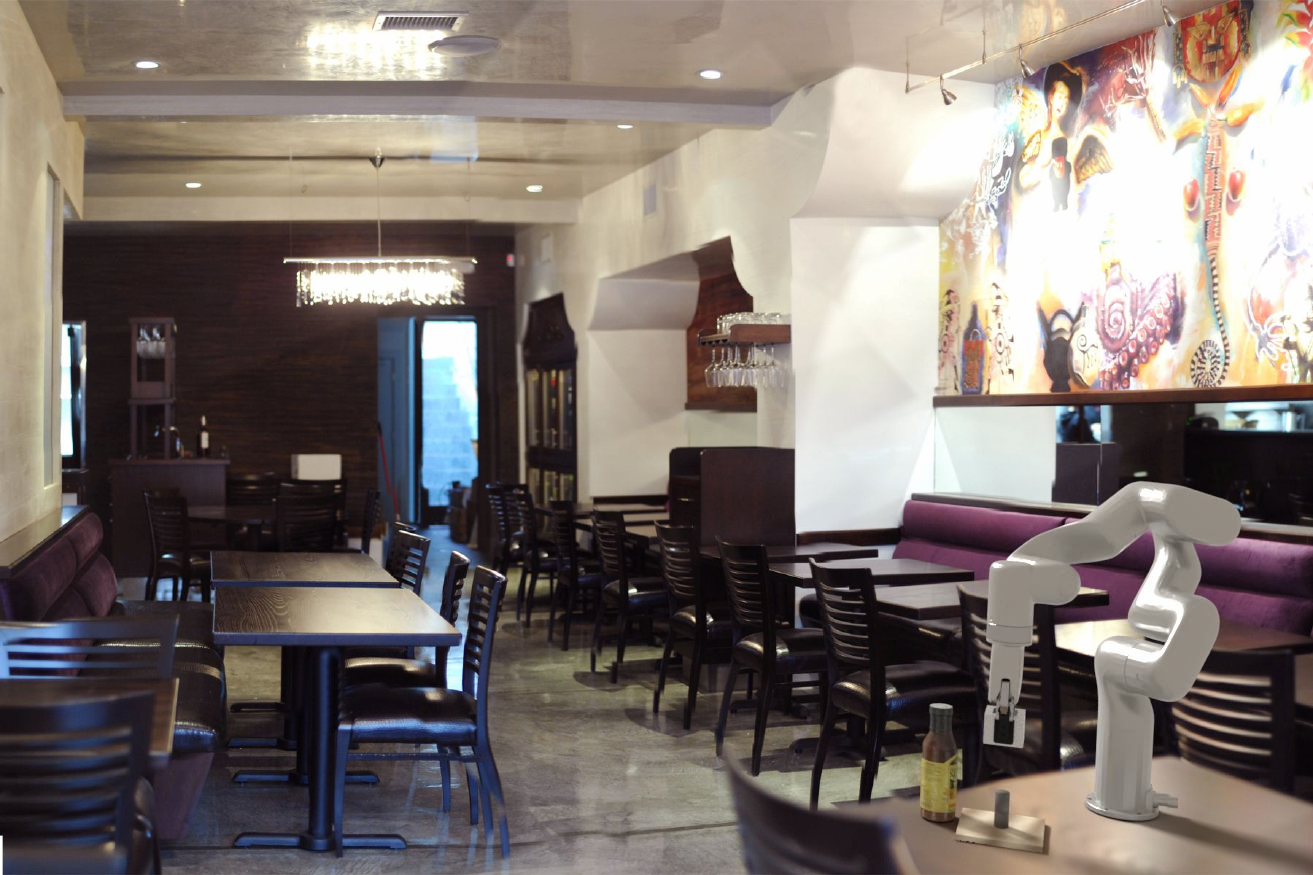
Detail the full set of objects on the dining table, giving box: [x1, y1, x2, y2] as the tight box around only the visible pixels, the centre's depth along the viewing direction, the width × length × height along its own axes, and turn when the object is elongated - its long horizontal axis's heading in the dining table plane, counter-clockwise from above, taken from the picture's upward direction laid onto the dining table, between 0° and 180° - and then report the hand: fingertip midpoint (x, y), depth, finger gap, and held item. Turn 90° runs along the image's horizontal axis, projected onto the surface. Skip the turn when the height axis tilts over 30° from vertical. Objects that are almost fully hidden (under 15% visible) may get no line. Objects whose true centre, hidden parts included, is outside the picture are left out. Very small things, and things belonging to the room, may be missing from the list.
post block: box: [954, 789, 1046, 854], centre depth 206 cm, size 14×14×7 cm
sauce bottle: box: [919, 702, 959, 823], centre depth 213 cm, size 6×6×20 cm
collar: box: [982, 704, 1026, 749], centre depth 206 cm, size 6×6×5 cm
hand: (1004, 736), depth 206 cm, fingers closed on collar, 6 cm apart
